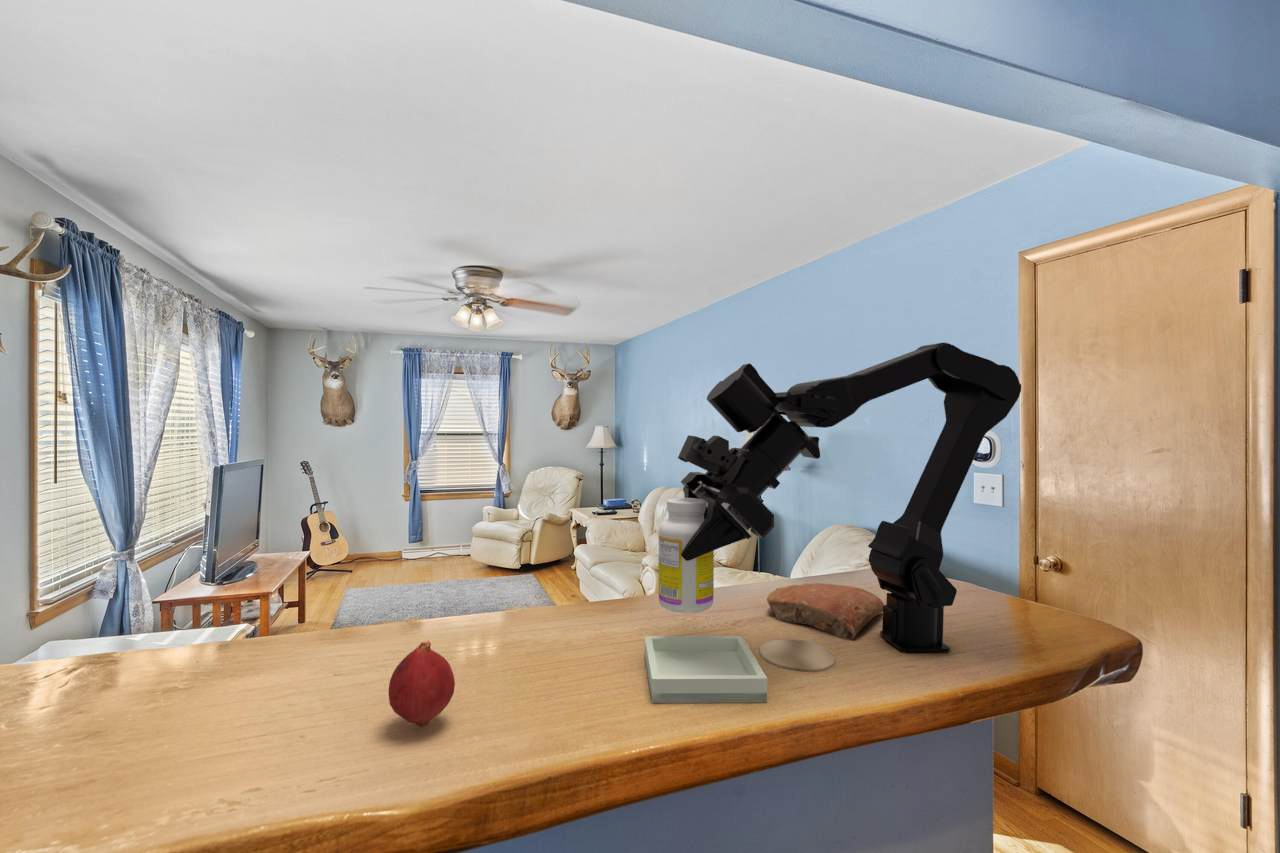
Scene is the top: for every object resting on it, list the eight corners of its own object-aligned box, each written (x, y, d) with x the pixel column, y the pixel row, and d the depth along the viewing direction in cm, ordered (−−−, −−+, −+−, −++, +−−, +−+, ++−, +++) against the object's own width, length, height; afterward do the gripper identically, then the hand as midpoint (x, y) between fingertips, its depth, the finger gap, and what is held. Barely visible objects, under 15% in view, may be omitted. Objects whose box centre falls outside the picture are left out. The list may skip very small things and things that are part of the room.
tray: (741, 656, 75) (741, 636, 74) (766, 702, 63) (767, 678, 62) (644, 656, 74) (644, 636, 74) (651, 703, 62) (652, 679, 62)
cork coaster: (819, 642, 80) (819, 639, 80) (846, 671, 71) (846, 667, 71) (752, 642, 79) (752, 639, 79) (771, 671, 70) (771, 668, 70)
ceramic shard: (797, 565, 101) (889, 595, 92) (789, 602, 101) (880, 637, 92) (759, 570, 89) (860, 606, 80) (750, 613, 89) (850, 653, 80)
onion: (388, 747, 53) (389, 656, 53) (387, 716, 58) (388, 634, 58) (457, 734, 55) (458, 647, 55) (450, 706, 60) (451, 627, 60)
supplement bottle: (711, 598, 76) (712, 496, 76) (715, 615, 70) (716, 504, 69) (658, 597, 76) (659, 496, 76) (657, 614, 70) (658, 503, 70)
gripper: (696, 412, 82) (616, 494, 80) (748, 412, 64) (646, 518, 62) (749, 469, 84) (672, 551, 82) (815, 485, 66) (718, 590, 64)
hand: (675, 551), depth 73 cm, fingers closed on supplement bottle, 7 cm apart
